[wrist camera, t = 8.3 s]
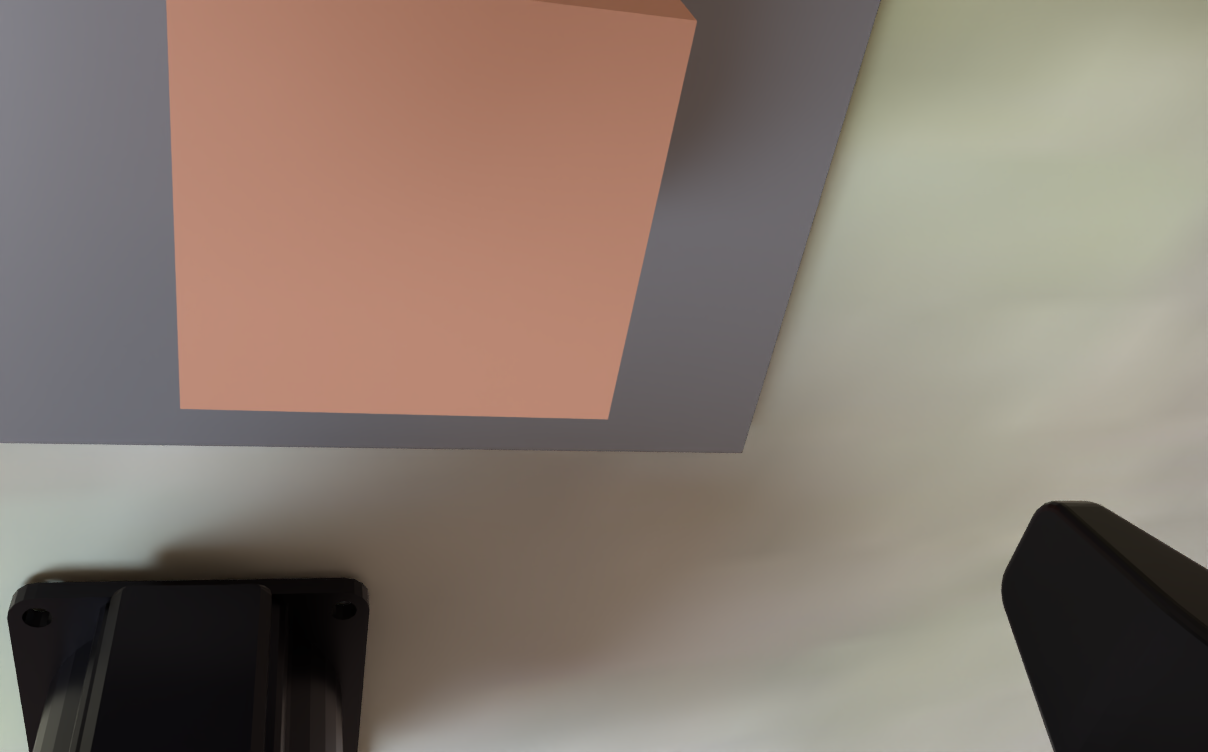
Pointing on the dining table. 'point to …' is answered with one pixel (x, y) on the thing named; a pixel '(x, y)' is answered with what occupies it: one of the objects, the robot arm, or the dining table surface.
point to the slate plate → (635, 423)
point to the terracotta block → (415, 199)
